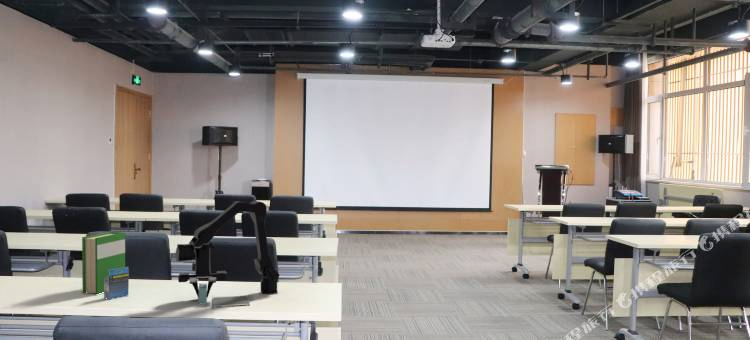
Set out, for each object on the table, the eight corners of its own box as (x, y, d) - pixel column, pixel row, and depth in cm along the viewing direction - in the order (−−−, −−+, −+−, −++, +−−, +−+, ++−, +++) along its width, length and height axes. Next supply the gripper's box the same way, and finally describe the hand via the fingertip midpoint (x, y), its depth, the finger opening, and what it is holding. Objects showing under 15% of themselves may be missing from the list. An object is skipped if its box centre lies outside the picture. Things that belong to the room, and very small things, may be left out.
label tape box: (123, 294, 250) (123, 265, 249) (129, 295, 247) (129, 266, 247) (103, 298, 242) (103, 268, 242) (109, 300, 240) (109, 269, 240)
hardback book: (97, 295, 248) (97, 238, 247) (82, 293, 250) (82, 237, 249) (125, 285, 265) (125, 232, 264) (111, 284, 267) (110, 231, 266)
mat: (247, 296, 248) (247, 295, 248) (249, 305, 234) (249, 304, 234) (213, 298, 244) (213, 297, 244) (213, 307, 230) (213, 306, 230)
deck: (206, 297, 245) (206, 283, 245) (206, 303, 237) (206, 288, 236) (199, 298, 244) (199, 283, 244) (198, 303, 236) (198, 288, 236)
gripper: (226, 255, 250) (226, 291, 251) (179, 256, 245) (179, 294, 246) (226, 259, 239) (226, 298, 240) (178, 261, 234) (178, 300, 235)
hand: (202, 297), depth 240 cm, fingers closed on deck, 3 cm apart
